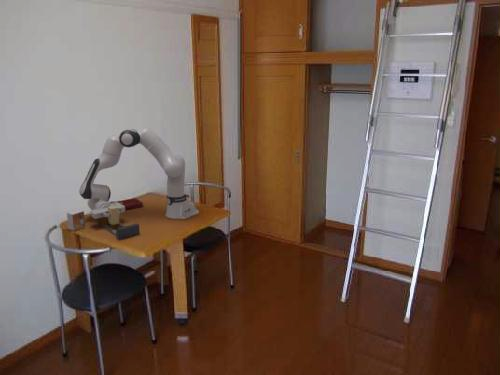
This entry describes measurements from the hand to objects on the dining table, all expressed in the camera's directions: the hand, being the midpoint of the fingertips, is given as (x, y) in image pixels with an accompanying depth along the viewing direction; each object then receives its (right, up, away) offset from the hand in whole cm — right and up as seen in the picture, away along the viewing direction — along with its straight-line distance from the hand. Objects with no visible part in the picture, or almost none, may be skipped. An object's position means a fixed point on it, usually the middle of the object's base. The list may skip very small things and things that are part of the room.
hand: (114, 214), depth 253 cm
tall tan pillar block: (-1, -5, +2) cm, 6 cm away
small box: (-23, -8, +1) cm, 24 cm away
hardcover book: (-5, +2, +39) cm, 39 cm away
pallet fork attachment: (+3, -9, -1) cm, 10 cm away
